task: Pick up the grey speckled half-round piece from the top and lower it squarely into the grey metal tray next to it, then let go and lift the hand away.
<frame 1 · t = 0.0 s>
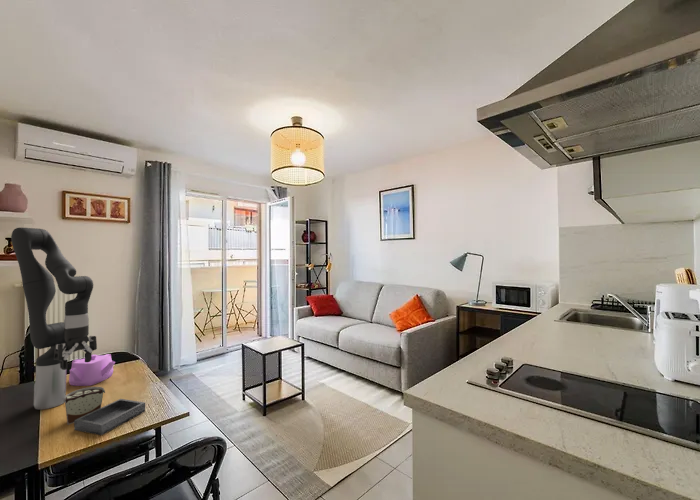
hand: (76, 365, 125), 17 cm above the table, tool pointing down, fingers open, 8 cm apart
grey metal tray: (111, 420, 116), on the table
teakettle: (92, 381, 152), on the table
grey speckled half-round piece: (82, 417, 118), on the table
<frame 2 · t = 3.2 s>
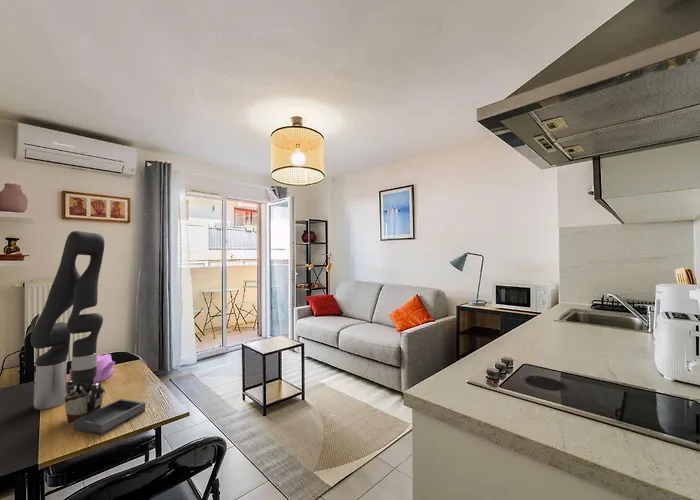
hand: (83, 409, 118), 3 cm above the table, tool pointing down, fingers closed on grey speckled half-round piece, 7 cm apart
grey speckled half-round piece: (82, 417, 118), on the table, touching gripper
everything else where it was.
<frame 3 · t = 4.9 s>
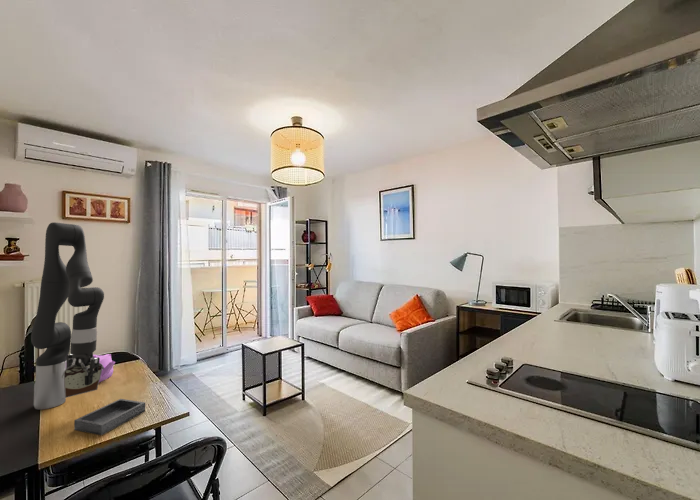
hand: (81, 383, 118), 13 cm above the table, tool pointing down, fingers closed on grey speckled half-round piece, 6 cm apart
grey speckled half-round piece: (79, 390, 119), point 10 cm above the table, touching gripper
everything else where it was.
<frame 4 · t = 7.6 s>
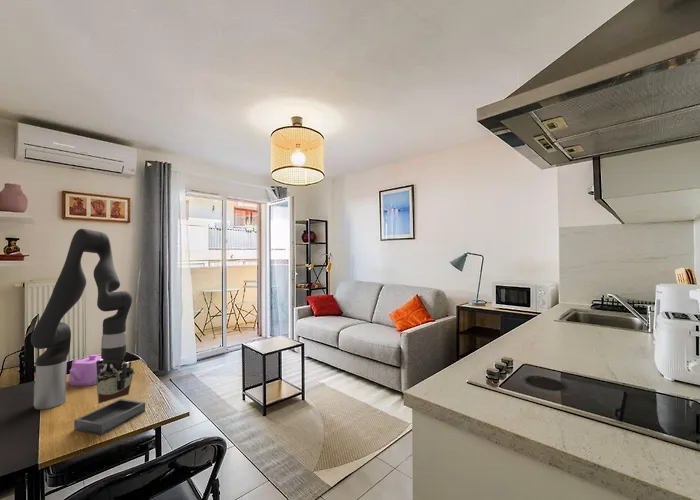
hand: (113, 388, 116), 12 cm above the table, tool pointing down, fingers closed on grey speckled half-round piece, 6 cm apart
grey speckled half-round piece: (111, 395, 117), point 8 cm above the table, touching gripper
everything else where it was.
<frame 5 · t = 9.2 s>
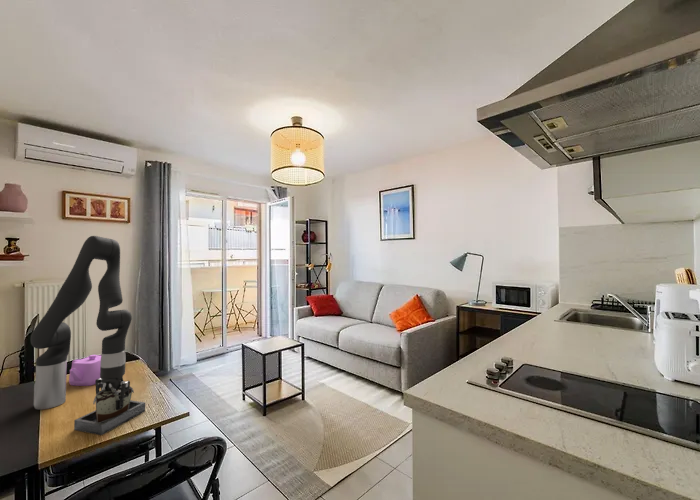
hand: (111, 407, 116), 5 cm above the table, tool pointing down, fingers closed on grey speckled half-round piece, 6 cm apart
grey speckled half-round piece: (110, 415, 117), point 1 cm above the table, touching gripper
everything else where it was.
when the fingers open (5 cm above the table, at t = 9.9 s): grey speckled half-round piece stays where it is, resting on grey metal tray.
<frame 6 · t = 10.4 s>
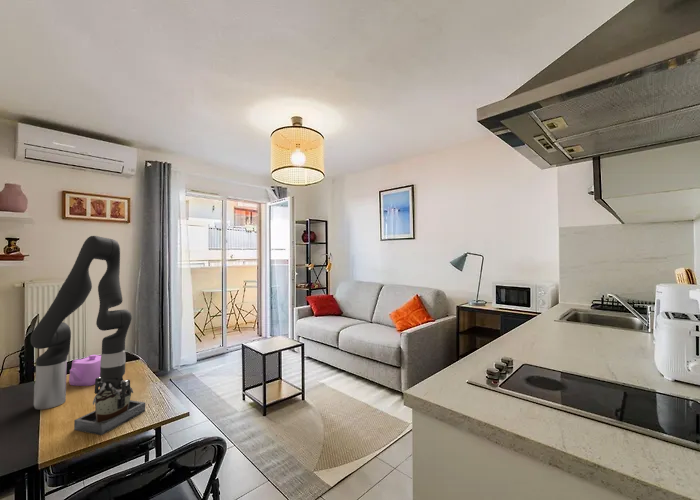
hand: (111, 406, 116), 5 cm above the table, tool pointing down, fingers open, 8 cm apart
grey speckled half-round piece: (109, 415, 117), point 1 cm above the table, touching grey metal tray, gripper
everything else where it was.
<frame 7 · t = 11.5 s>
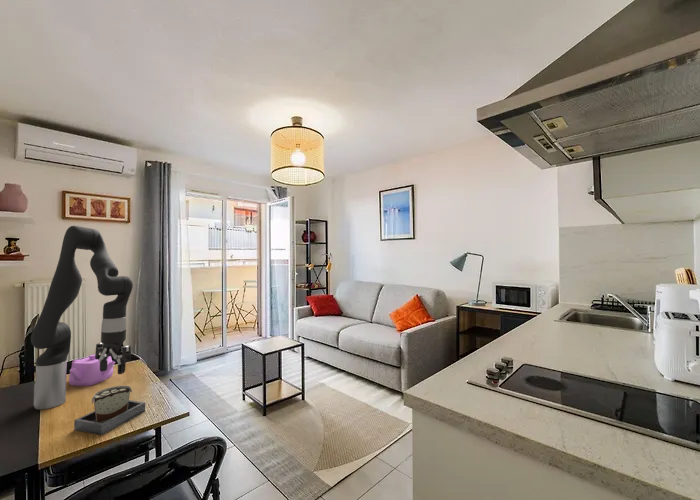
hand: (112, 372, 116), 18 cm above the table, tool pointing down, fingers open, 8 cm apart
grey speckled half-round piece: (109, 416, 117), point 1 cm above the table, touching grey metal tray
everything else where it was.
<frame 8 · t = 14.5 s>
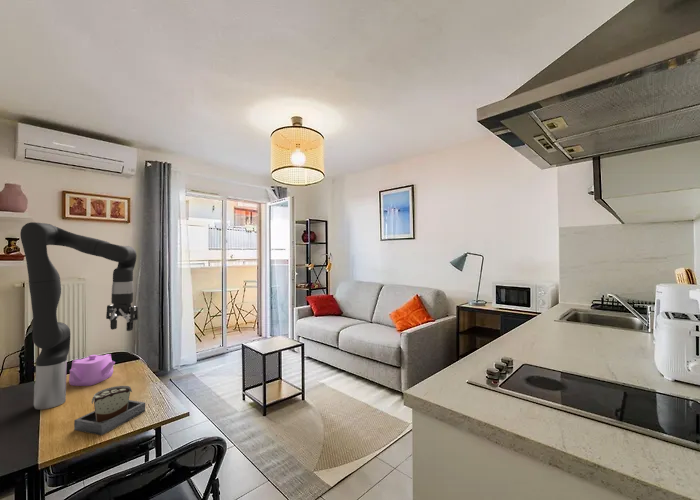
hand: (121, 329, 132), 30 cm above the table, tool pointing down, fingers open, 8 cm apart
nothing on the table moved.
at the end: grey speckled half-round piece 2.1 cm off-centre on the grey metal tray, point 0.6 cm above the grey metal tray's base; grey speckled half-round piece tilted 0°; the gripper is holding nothing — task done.
